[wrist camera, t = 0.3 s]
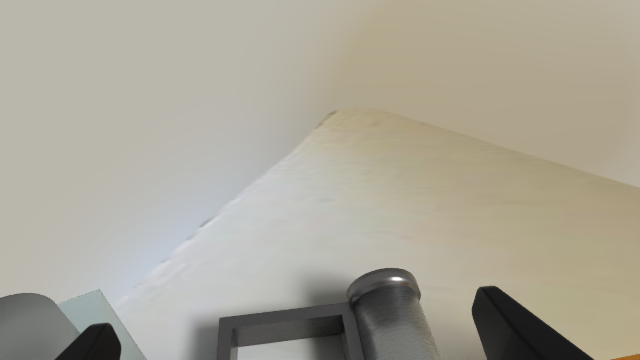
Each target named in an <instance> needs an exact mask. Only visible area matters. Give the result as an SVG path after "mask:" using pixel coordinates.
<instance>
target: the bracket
mask: <svg viewBox="0 0 640 360" xmlns="http://www.w3.org/2000/svg"><path fill="white" fill-rule="evenodd" d="M612 360H640V354H636V355H631V356H627V357H622V358H617V359H612Z"/></svg>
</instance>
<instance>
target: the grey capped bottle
mask: <svg viewBox="0 0 640 360" xmlns="http://www.w3.org/2000/svg"><path fill="white" fill-rule="evenodd" d="M106 322H107V323H110V324H111V325H112V326H113V328H114V330H115V332H116V334H117V336H118V338H119V340H120V342H121V356H120V360H147V359H146V358H145V356H144V355H143V353H142V352H141V350H140V349H139V347H138V346H137V344H136V343H135V341H134V340H133V338H132V337H131V335H130V334H129V332H128V331H127V329H126V328H125V326H124V325H123V323H122V322H121V320H120V319H119V317H118V316H117V314H116V313H115V311H114V310H113V308H112V307H111V305H110V304H109V302H108V301H107V299H106V298H105V296H104V295H103V293H102V292H101V290H100V289H98V290H95V291H92V292H90V293H87V294H84V295H81V296H78V297H76V298H73V299H70V300H67V301H64V302H62V303H59V304H55V302H54V301H53V300H51V299H50V298H48V297H46V296H44V295H40V294H35V293H21V294H14V295H9V296H5V297H2V298H0V360H54V359H55V358H56V357H57V356H58V355H59V354H60V353H61V352H62V351H63V350H65V349H66V348H67V347H68V346H69V345H70V344H71V343H72V342H73V341H74V340H75V339H76V338H77V337H78V336H79V335H80V334H81V333H82V332H83V331H84V330H85V329H86V328H87V327H88V326H90V325H92V324H95V323H106Z"/></svg>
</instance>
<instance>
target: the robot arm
mask: <svg viewBox="0 0 640 360" xmlns="http://www.w3.org/2000/svg"><path fill="white" fill-rule="evenodd" d="M472 316H473V319H474V322H475V325H476V328H477V331H478V334H479V337H480V340H481V343H482V346H483V348H484V351H485V354H486V357H487V360H594V359H593V358H591V357H590V356H589V355H587V354H586V353H585V352H583V351H582V350H581V349H579V348H578V347H577V346H575V345H574V344H573V343H571V342H570V341H569V340H567V339H566V338H565V337H563V336H562V335H561V334H559V333H558V332H557V331H555V330H554V329H553V328H551V327H550V326H549V325H547V324H546V323H545V322H543V321H542V320H541V319H539V318H538V317H537V316H535V315H534V314H533V313H531V312H530V311H529V310H527V309H526V308H525V307H523V306H522V305H521V304H519V303H518V302H517V301H515V300H514V299H513V298H511V297H510V296H509V295H507V294H506V293H505V292H503V291H502V290H501V289H499V288H498V287H496V286H484V287H479V288H478V290H477V292H476V296H475V299H474V302H473V306H472ZM120 356H121V342H120V340H119V338H118V336H117V334H116V332H115V330H114V328H113V326H112V325H111V324H110V323H107V322H106V323H95V324H92V325H90V326H88V327H87V328H86V329H85V330H84V331H83V332H82V333H81V334H80V335H79V336H78V337H77V338H76V339H75V340H74V341H73V342H72V343H71V344H70V345H69V346H68V347H67V348H66V349H65V350H63V351H62V352H61V353H60V354H59V355H58V356H57V357H56V358H55V359H54V360H120Z"/></svg>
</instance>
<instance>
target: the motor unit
mask: <svg viewBox="0 0 640 360" xmlns="http://www.w3.org/2000/svg"><path fill="white" fill-rule="evenodd" d="M420 297H421V293H420V290H419V287H418V285H417V282H416V279H415V277H414V276H413V275H412V274H411V273H410V272H408V271H406V270H403V269H399V268H384V269H379V270H375V271H372V272H369V273H366V274H364V275H362V276H361V277H359V278H358V279H356V280H355V281H354V282H353V283H352V284H351V285H350V287H349V288H348V291H347V299H348V302H347V303H339V304H330V305H322V306H314V307H306V308H298V309H289V310H281V311H273V312H265V313H256V314H248V315H240V316H232V317H223V318H220V321H219V334H218V347H217V360H237V351H238V347H242V346H250V345H258V344H265V343H273V342H281V341H288V340H296V339H304V338H312V337H319V336H327V335H335V334H341V337H342V343H343V348H344V354H345V359H346V360H441V358H440V356H439V353H438V350H437V348H436V345H435V342H434V340H433V337H432V334H431V331H430V329H429V326H428V323H427V321H426V318H425V315H424V313H423V310H422V307H421V305H420V302H419V300H420Z"/></svg>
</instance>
